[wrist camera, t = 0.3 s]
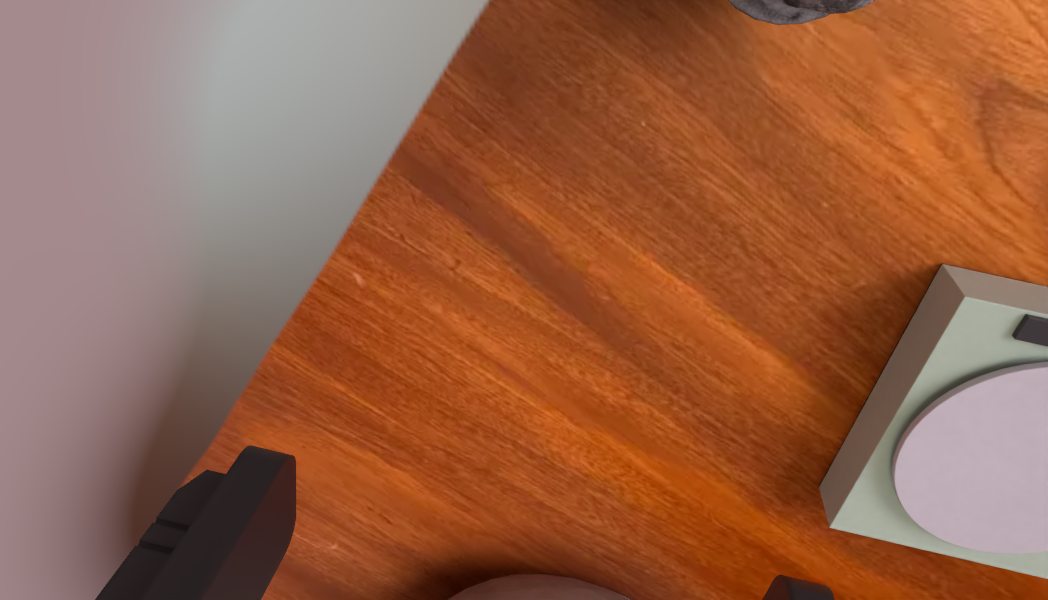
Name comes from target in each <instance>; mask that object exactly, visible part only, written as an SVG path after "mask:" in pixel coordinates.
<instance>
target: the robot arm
mask: <svg viewBox="0 0 1048 600" xmlns="http://www.w3.org/2000/svg"><path fill="white" fill-rule="evenodd" d="M295 521H296V460H295V457H294V456H293V455H288V454H284V453H280V452H276V451H272V450H268V449H263V448H259V447H255V446H247V447H246V448H245V449H244V450H243V451H242V452H241V453H240V455H239V456H238V458H237V459H236V461H235V462H234V463H233V465H232V466H231V468H230V469H229V471H228V472H227V474H222V473H218V472H214V471H210V470H206V471H205V472H203V473H202V474H200V475H199V476H197V477H196V478H194V479H193V480H191V481H190V482H189V483H187V484H186V485H184V486H183V487H181V488H180V489H178V490H177V491H176V492H175V494H174V495H173V496H172V498H171V499H170V500H169V502H168V503H167V504H166V506H165V507H164V508H163V510H162V511H161V512H160V514H159V515H158V516H157V519H156V522H155V523H152V525H151V526H150V527H149V529H148V530H147V531H146V532H145V534H144V535H143V537H142V538H141V539H140V542H139V545H138V546H135V547H134V548H133V550H132V551H131V552H130V554H129V555H128V556H127V558H126V559H125V561H124V562H123V563H122V564H121V566H120V567H119V568H118V570H117V571H116V573H115V574H114V575H113V576H112V578H111V579H110V580H109V582H108V583H107V584H106V586H105V587H104V588H103V590H102V591H101V593H100V594H99V595H98V596H97V598H96V599H95V600H261V598H262V597H263V595H264V593H265V591H266V589H267V587H268V585H269V583H270V581H271V579H272V578H273V576H274V574H275V572H276V570H277V568H278V566H279V564H280V562H281V561H282V559H283V557H284V555H285V553H286V551H287V548H288V546H289V543H290V541H291V538H292V534H293V531H294V526H295ZM763 600H834V596H833V594H832V591H831V590H830V588H829V587H827V586H825V585H821V584H817V583H813V582H809V581H805V580H800V579H796V578H792V577H788V576H784V575H778V576H777V577H776V578H775V579H774V580H773V582H772V584H771V585H770V587H769V589H768V591H767V593H766V594H765V596H764V598H763Z"/></svg>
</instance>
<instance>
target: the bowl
mask: <svg viewBox="0 0 1048 600" xmlns="http://www.w3.org/2000/svg"><path fill="white" fill-rule="evenodd" d="M448 600H630V599H629V598H627V597H625V596H623V595H621V594H619V593H617V592H614V591H612V590H609V589H607V588H604V587H601V586H598V585H595V584H592V583H589V582H585V581H582V580H579V579H576V578H571V577H563V576H554V575H546V574H519V575H513V576H507V577H502V578H496V579H492V580H488V581H486V582H483V583H480V584H477V585H475V586H472V587H470V588H467V589H464V590H463V591H461V592H459V593H458V594H456V595H454V596H453V597H451V598H449V599H448Z"/></svg>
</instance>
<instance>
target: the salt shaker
mask: <svg viewBox="0 0 1048 600" xmlns="http://www.w3.org/2000/svg"><path fill="white" fill-rule="evenodd" d="M728 1H729V2H730V3H731V4H732V5H733V6H734V7H735V8H736V9H738V10H739V11H741V12H743V13H745V14H746V15H748V16H750V17H752V18H753V19H755V20H760V21H764V22H768V23H772V24H777V25H782V24H802V23H806V22H809V21H812V20H816V19H819V18H822V17H826V16H828V15H829V14H833V13H846V12H850V11H853V10H856V9H859V8H862V7H864V6H866V5H868V4H869V3H871V2H873V1H874V0H728Z"/></svg>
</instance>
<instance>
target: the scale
mask: <svg viewBox="0 0 1048 600" xmlns="http://www.w3.org/2000/svg"><path fill="white" fill-rule="evenodd" d="M819 489H820V493H821V497H822V500H823V504H824V508H825V512H826V516H827V520H828V524H829V527H830V528H833V529H838V530H842V531H846V532H850V533H855V534H859V535H863V536H867V537H872V538H876V539H880V540H884V541H889V542H893V543H897V544H901V545H906V546H910V547H914V548H918V549H923V550H927V551H931V552H935V553H940V554H944V555H948V556H952V557H957V558H961V559H965V560H969V561H974V562H978V563H982V564H987V565H991V566H995V567H999V568H1004V569H1008V570H1012V571H1016V572H1021V573H1025V574H1029V575H1033V576H1038V577H1042V578H1046V579H1048V287H1046V286H1041V285H1037V284H1032V283H1028V282H1023V281H1018V280H1014V279H1009V278H1005V277H1000V276H996V275H991V274H986V273H982V272H977V271H973V270H968V269H963V268H959V267H954V266H950V265H945V264H942V265H941V267H940V268H939V270H938V272H937V274H936V276H935V278H934V279H933V281H932V283H931V285H930V287H929V288H928V290H927V292H926V294H925V296H924V298H923V299H922V301H921V303H920V305H919V307H918V308H917V310H916V312H915V314H914V316H913V318H912V319H911V321H910V323H909V325H908V327H907V328H906V330H905V332H904V334H903V336H902V337H901V339H900V341H899V343H898V345H897V347H896V348H895V350H894V352H893V354H892V356H891V357H890V359H889V361H888V363H887V365H886V367H885V368H884V370H883V372H882V374H881V376H880V377H879V379H878V381H877V383H876V385H875V387H874V388H873V390H872V392H871V394H870V396H869V397H868V399H867V401H866V403H865V405H864V407H863V408H862V410H861V412H860V414H859V416H858V417H857V419H856V421H855V423H854V425H853V427H852V428H851V430H850V432H849V434H848V436H847V437H846V439H845V441H844V443H843V445H842V447H841V448H840V450H839V452H838V454H837V456H836V457H835V459H834V461H833V463H832V465H831V467H830V468H829V470H828V472H827V474H826V476H825V477H824V479H823V481H822V483H821V485H820V487H819Z"/></svg>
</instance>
